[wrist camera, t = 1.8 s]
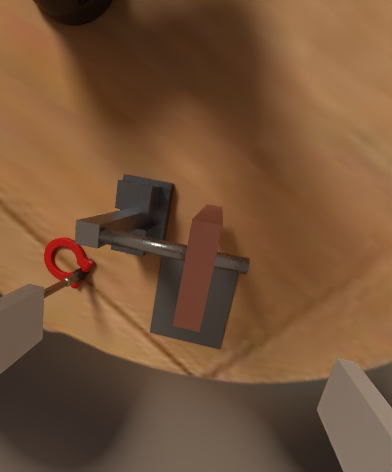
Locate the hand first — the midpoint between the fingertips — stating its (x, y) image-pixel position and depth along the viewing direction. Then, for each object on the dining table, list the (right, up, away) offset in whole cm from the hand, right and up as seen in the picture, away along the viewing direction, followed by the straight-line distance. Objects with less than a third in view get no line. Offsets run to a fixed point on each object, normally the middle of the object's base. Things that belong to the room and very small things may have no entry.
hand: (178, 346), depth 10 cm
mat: (0, -7, +32) cm, 32 cm away
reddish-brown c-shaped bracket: (+3, +5, +25) cm, 26 cm away
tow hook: (-24, 0, +33) cm, 41 cm away
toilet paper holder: (-2, +8, +29) cm, 30 cm away
